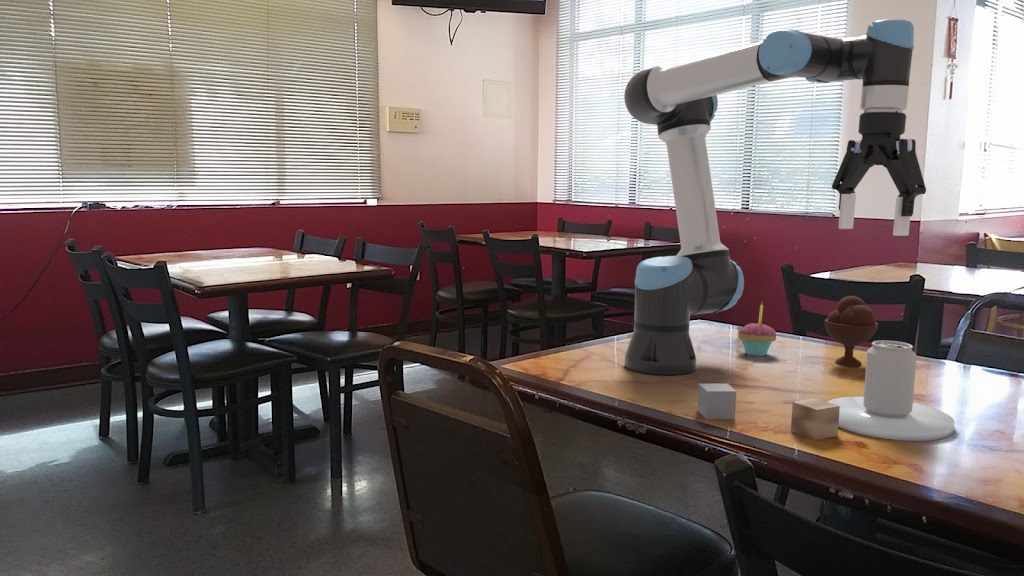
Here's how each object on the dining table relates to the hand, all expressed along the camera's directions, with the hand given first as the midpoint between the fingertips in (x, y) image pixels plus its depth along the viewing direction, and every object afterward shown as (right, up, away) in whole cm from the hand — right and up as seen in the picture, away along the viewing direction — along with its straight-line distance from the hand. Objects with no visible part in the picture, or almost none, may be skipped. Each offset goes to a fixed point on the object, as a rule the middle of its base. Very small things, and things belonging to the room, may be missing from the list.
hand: (871, 232), depth 145 cm
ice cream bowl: (+9, -27, +32) cm, 43 cm away
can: (-2, -31, -10) cm, 33 cm away
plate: (-2, -33, -10) cm, 34 cm away
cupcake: (-8, -26, +41) cm, 49 cm away
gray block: (-30, -32, -7) cm, 44 cm away
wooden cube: (-17, -34, -16) cm, 41 cm away
